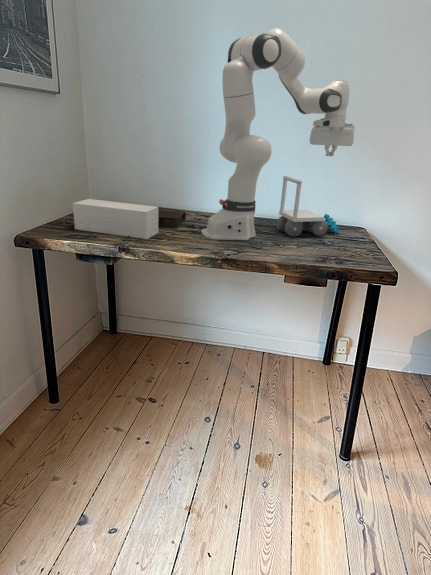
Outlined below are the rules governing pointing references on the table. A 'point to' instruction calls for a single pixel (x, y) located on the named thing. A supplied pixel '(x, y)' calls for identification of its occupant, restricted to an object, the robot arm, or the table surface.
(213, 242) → the table surface
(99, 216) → the long white foam block
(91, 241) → the table surface
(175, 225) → the diary
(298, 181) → the trolley
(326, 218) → the blue bumpy piece
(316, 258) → the table surface
